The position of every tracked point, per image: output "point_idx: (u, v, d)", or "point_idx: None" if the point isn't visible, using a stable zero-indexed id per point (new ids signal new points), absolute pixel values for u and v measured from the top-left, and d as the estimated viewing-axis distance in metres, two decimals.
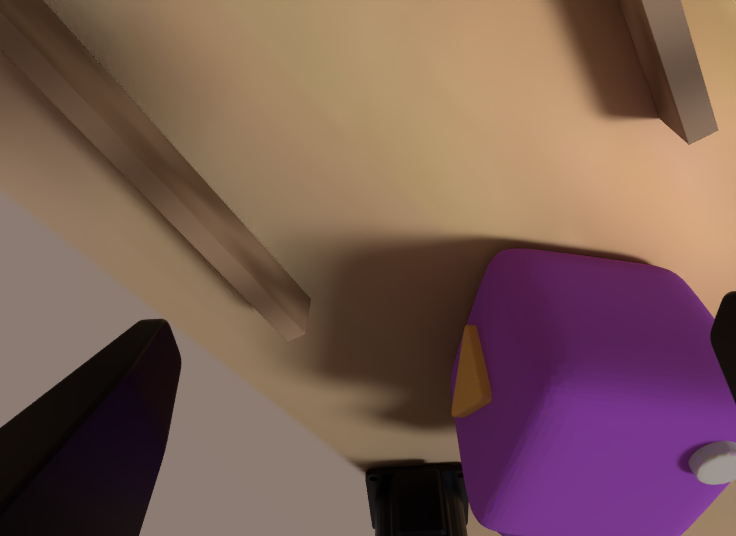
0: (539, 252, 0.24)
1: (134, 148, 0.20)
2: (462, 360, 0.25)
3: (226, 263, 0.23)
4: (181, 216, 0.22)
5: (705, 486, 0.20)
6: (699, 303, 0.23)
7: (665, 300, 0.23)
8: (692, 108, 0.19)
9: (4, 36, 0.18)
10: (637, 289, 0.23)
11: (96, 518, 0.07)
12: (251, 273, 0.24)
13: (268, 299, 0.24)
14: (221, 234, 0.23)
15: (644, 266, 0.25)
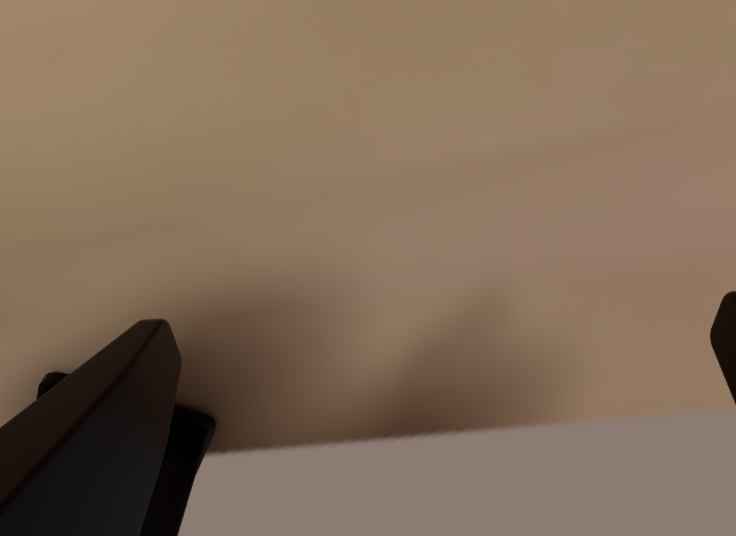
0: None
1: None
2: None
3: None
4: None
5: None
6: None
7: None
8: None
9: None
10: None
11: (96, 518, 0.07)
12: None
13: None
14: None
15: None
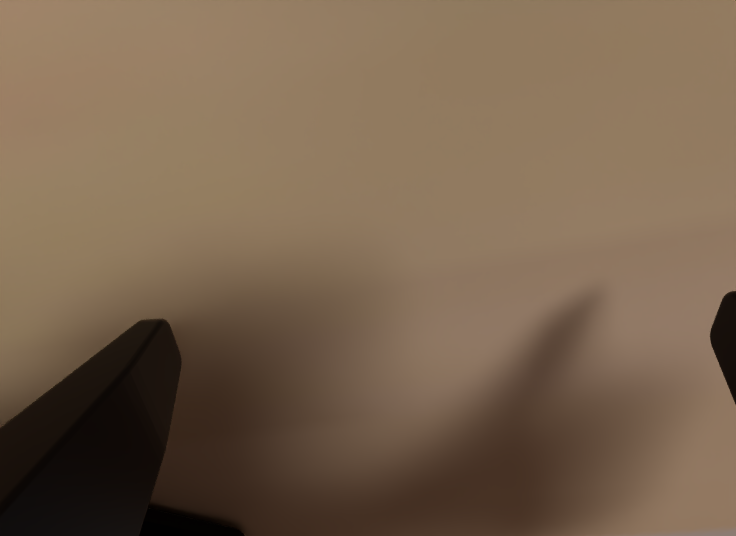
0: None
1: None
2: None
3: None
4: None
5: None
6: None
7: None
8: None
9: None
10: None
11: (96, 518, 0.07)
12: None
13: None
14: None
15: None
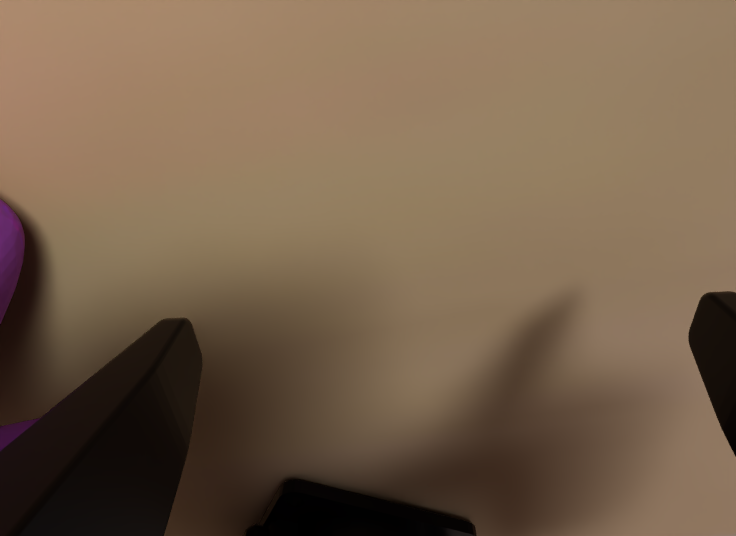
0: None
1: None
2: None
3: None
4: None
5: None
6: None
7: None
8: None
9: None
10: None
11: (125, 517, 0.07)
12: None
13: None
14: None
15: None
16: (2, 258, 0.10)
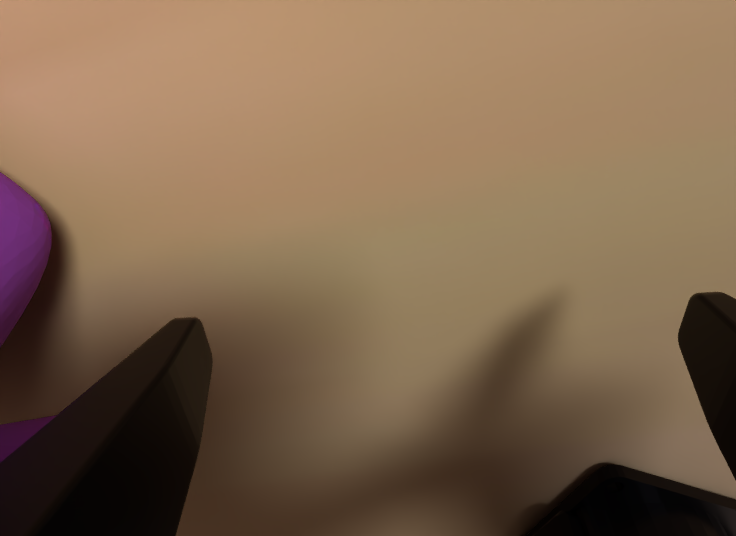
0: None
1: None
2: None
3: None
4: None
5: None
6: None
7: None
8: None
9: None
10: None
11: (138, 517, 0.07)
12: None
13: None
14: None
15: None
16: (32, 258, 0.10)
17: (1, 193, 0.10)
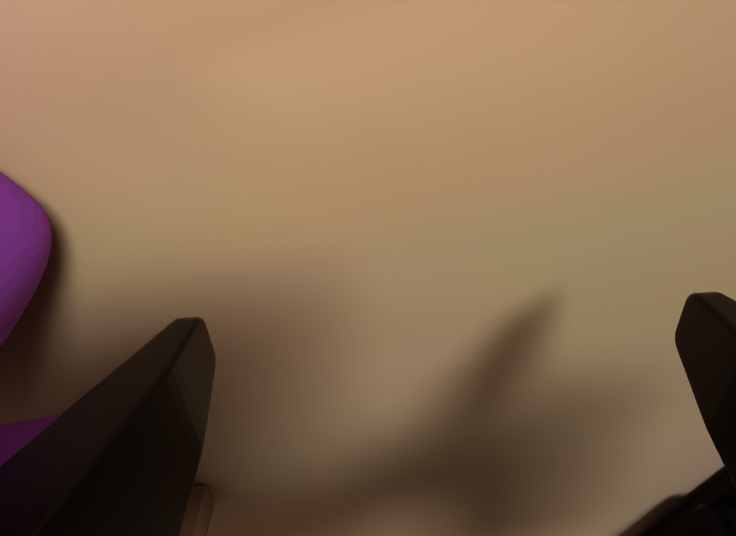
0: None
1: None
2: None
3: None
4: None
5: None
6: None
7: None
8: None
9: None
10: None
11: (142, 516, 0.07)
12: None
13: None
14: None
15: None
16: (33, 257, 0.10)
17: (1, 193, 0.10)
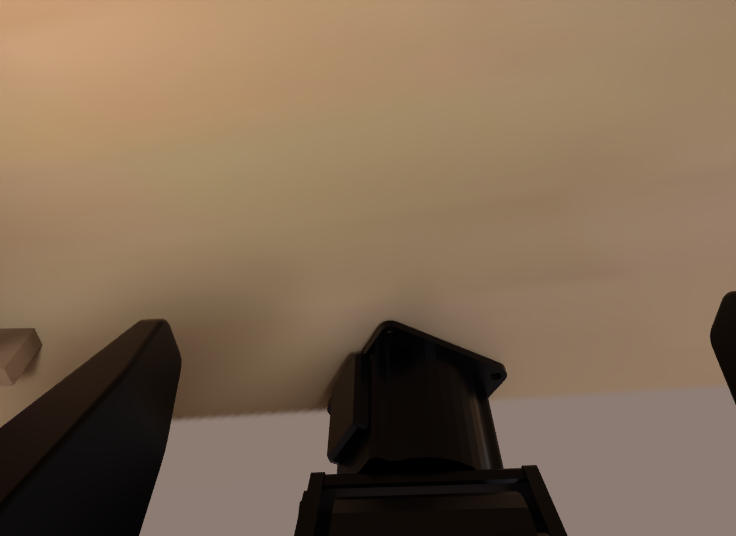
0: None
1: None
2: None
3: None
4: None
5: None
6: None
7: None
8: None
9: None
10: None
11: (96, 518, 0.07)
12: None
13: None
14: None
15: None
16: None
17: None
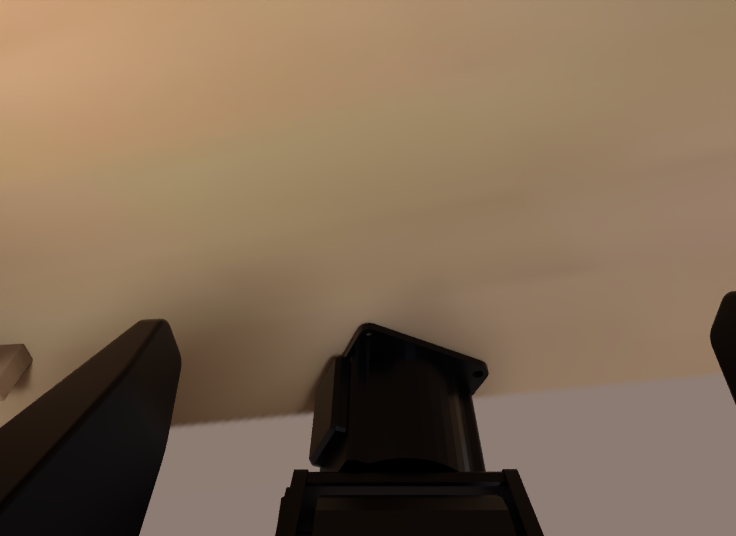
0: None
1: None
2: None
3: None
4: None
5: None
6: None
7: None
8: None
9: None
10: None
11: (96, 518, 0.07)
12: None
13: None
14: None
15: None
16: None
17: None
